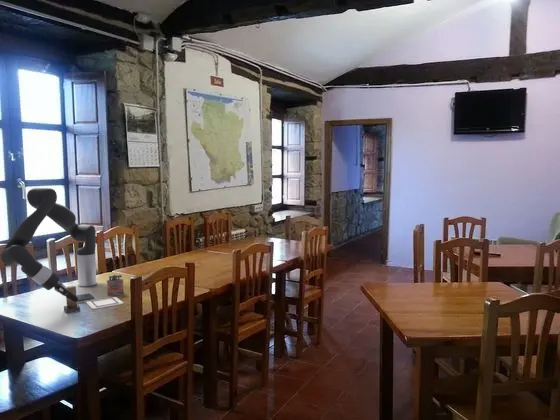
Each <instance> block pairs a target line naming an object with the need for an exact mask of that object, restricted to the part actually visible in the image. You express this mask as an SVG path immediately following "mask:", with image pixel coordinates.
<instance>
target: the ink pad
mask: <svg viewBox="0 0 560 420" xmlns="http://www.w3.org/2000/svg"><path fill="white" fill-rule="evenodd" d="M76 297H77V298H78V300H77V304H78V305H79V304H83V303H85V304H86V302H89V301H94V300H98V298H97V297H96V296H95V295H94V294H92V293H82V294H76Z"/></svg>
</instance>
